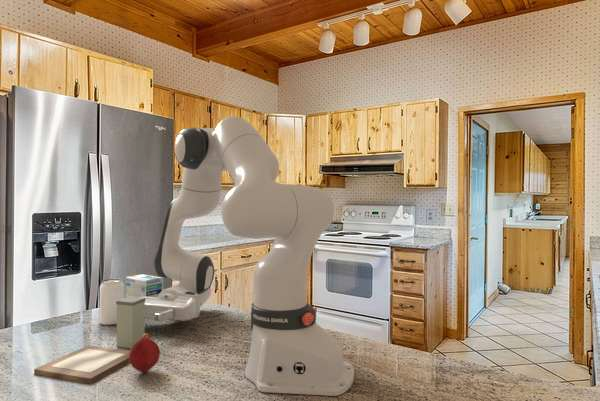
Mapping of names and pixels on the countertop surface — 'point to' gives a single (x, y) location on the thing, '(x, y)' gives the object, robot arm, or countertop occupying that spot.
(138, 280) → the light bulb box
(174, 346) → the countertop surface
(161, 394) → the countertop surface
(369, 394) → the countertop surface
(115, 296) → the can
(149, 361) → the onion
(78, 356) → the board
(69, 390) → the countertop surface
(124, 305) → the tea tin
